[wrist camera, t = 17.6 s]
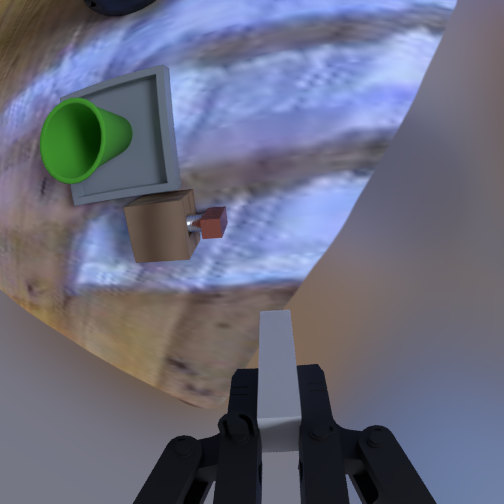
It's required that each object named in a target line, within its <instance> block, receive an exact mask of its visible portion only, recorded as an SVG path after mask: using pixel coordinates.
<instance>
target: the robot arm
mask: <svg viewBox="0 0 504 504" xmlns="http://www.w3.org/2000/svg"><path fill="white" fill-rule="evenodd" d="M154 1H156V0H84V2H85V4H86V5H87V6H88V7H89V8H91V9H92V10H94V11H96V12H98V13H100V14H102V15H107V16H119V15H125V14H129V13H132V12H135V11H137V10H140V9H142V8H144V7H146V6H148V5H149V4H151V3H153V2H154ZM218 428H219V431H220V433H219V434H217V435H215V436H212V437H209V438H204V439H200V440H197V439H195V438H193V437H191V436H185V435H183V436H178V437H176V438H174V439H172V440H171V441H170V442H169V443H168V444H167V446H166V448H165V450H164V451H163V453H162V455H161V457H160V458H159V460H158V462H157V464H156V465H155V467H154V469H153V470H152V472H151V474H150V475H149V477H148V479H147V481H146V482H145V484H144V486H143V487H142V489H141V491H140V492H139V494H138V496H137V497H136V499H135V501H134V502H133V504H203V503H204V501H205V499H206V497H207V494H208V492H209V489H210V488H211V485H212V483H213V481H216V483H215V491H214V499H213V504H261V499H262V498H261V497H262V452H285V451H299V465H298V470H299V476H300V494H301V504H350V503H349V497H348V489H347V483H346V476H345V474H348V475H349V477H350V479H351V481H352V484H353V486H354V488H355V490H356V492H357V494H358V496H359V498H360V500H361V502H362V504H436V502H435V500H434V499H433V497H432V496H431V494H430V492H429V491H428V489H427V488H426V486H425V484H424V483H423V481H422V479H421V478H420V476H419V475H418V473H417V471H416V470H415V468H414V467H413V465H412V464H411V462H410V460H409V459H408V457H407V456H406V454H405V453H404V451H403V449H402V448H401V446H400V445H399V443H398V442H397V440H396V438H395V437H394V435H393V434H392V432H391V431H390V430H389V429H388V428H386V427H383V426H379V425H374V426H370V427H367V428H366V429H364V430H363V431H356V430H349V429H344V428H342V427H340V426H339V425H338V424H336V422H335V421H334V419H333V416H332V412H331V406H330V401H329V396H328V391H327V385H326V381H325V375H324V372H323V370H322V369H321V368H320V367H319V365H318V364H311V365H299V366H296V358H295V350H294V341H293V333H292V324H291V316H290V310H275V311H260V338H259V368H256V369H237V371H236V372H235V374H234V375H233V376H232V381H231V389H230V397H229V405H228V413H227V414H225V415H224V416H223V417H222V418H221V419H220V420H219V422H218Z"/></svg>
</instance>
